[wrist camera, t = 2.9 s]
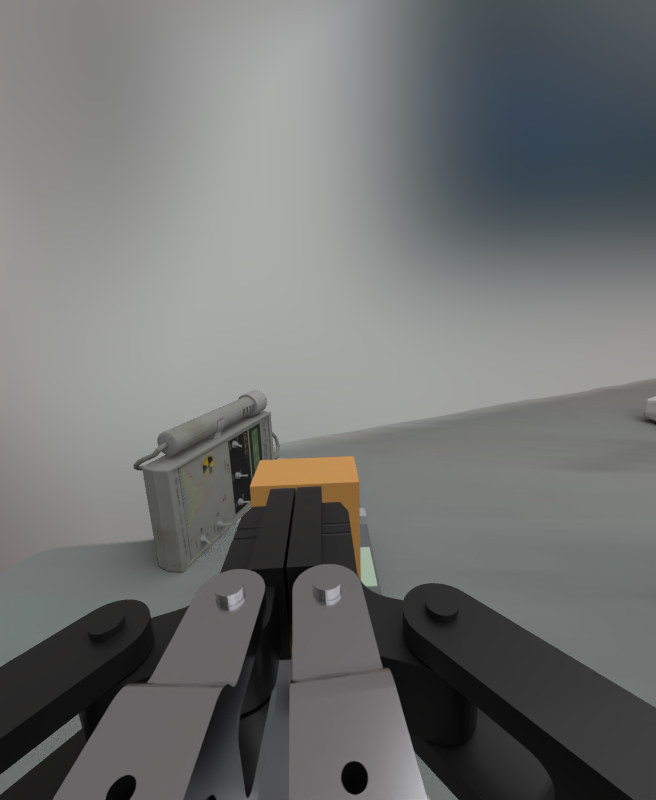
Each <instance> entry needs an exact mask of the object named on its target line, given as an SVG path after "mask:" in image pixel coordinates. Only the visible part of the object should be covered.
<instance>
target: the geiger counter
mask: <svg viewBox="0 0 656 800" xmlns="http://www.w3.org/2000/svg"><path fill="white" fill-rule="evenodd" d="M266 405H267V399H266V397H265V395H264V394H263V393H262V392H260V391H258V390H254V391H251V392H249V393H246V394H244V395H242V396H240V397H239V399H238V400H236V401H234V402H232V403H230V404H227V405H225V406H223V407H220V408H218V409H216V410H213V411H211V412H209V413H207V414H204V415H202V416H200V417H197V418H195V419H193V420H190V421H188V422H186V423H184V424H181V425H179V426H177V427H174V428H172V429H170V430H167V431H165V432H163V433H161V434H160V435H159V437H158V446H159V447H158V448H157V449H156V450H155V451H154V452H153V453H152V454H150V455H148V456H145V457H143V458H141V459H139V460H138V461H137V462H136V463H135V464H134V469H136V470H143V475H144V481H145V487H146V493H147V499H148V505H149V511H150V517H151V522H152V529H153V535H154V541H155V547H156V553H157V559H158V565H159V567H161V568H163V569H165V570H167V571H170V572H182V573H183V572H184V571H185V570H187V569H188V568H189V567H190V566H191V565H192V564H193V563H194V562H195V561H196V560H197V559H198V558H199V557H200V556H201V555H202V554H203V553H204V552H205V551H206V550H207V549H208V548H209V547H210V546H211V545H212V544H213V543H214V542H215V541H216V540H218V539H219V538H220V537H221V536H222V535H223V534H224V533H225V532H226V531H227V530H228V529H229V528H230V527H231V526H232V525H233V524H234V523H235V522H236V521H237V520H238V519H239V518H240V517H241V516H242V515H243V514H244V513H245V512H246V511H247V510H248V509H250V508H251V507H252V505H251V495H250V485H251V482H252V480H253V477H254V475H255V472H256V469H257V467H258V464H259V462H260V460H277V459H278V458H279V455H278V454H279V447H280V446H279V442H278V439H277V437H276V435H275V434H274V433H273V432H272V426H271V413H270V412H266V411H263V410H264V409H265V408H266ZM272 436H273V437H274V439H275V442H276V445H277V450H276V453H273V441H272ZM161 451H162V452H163V453H164V454H166V455H165V456H163V457H161V458H159V459H157V460H155V461H153V462H151V463H149V464H147V465H145V466H139V465H140V464H141V463H143V462H145V461H147V460H150V459H152V458H154V457H156V456H158V454H159V453H160V452H161Z"/></svg>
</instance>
